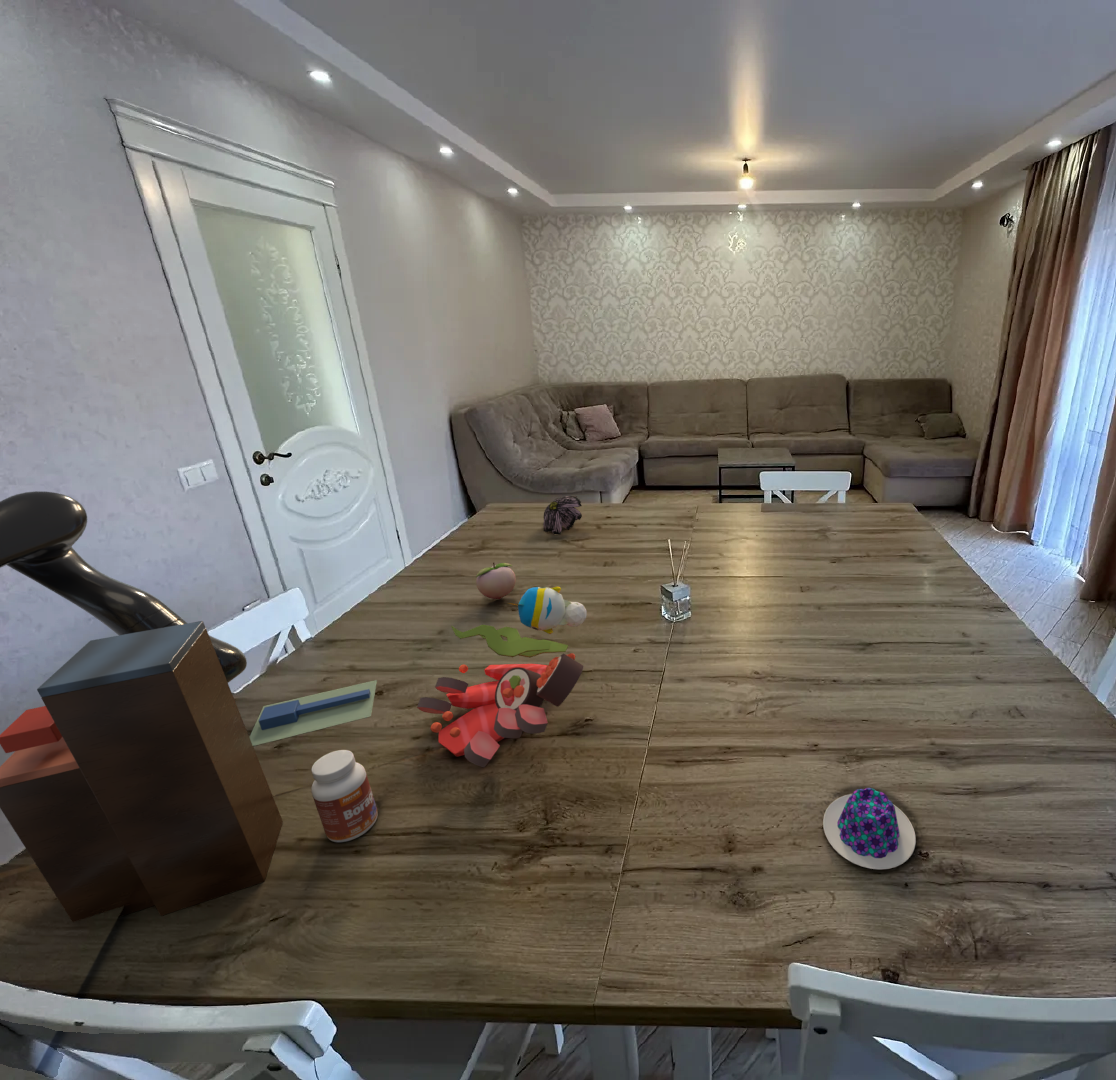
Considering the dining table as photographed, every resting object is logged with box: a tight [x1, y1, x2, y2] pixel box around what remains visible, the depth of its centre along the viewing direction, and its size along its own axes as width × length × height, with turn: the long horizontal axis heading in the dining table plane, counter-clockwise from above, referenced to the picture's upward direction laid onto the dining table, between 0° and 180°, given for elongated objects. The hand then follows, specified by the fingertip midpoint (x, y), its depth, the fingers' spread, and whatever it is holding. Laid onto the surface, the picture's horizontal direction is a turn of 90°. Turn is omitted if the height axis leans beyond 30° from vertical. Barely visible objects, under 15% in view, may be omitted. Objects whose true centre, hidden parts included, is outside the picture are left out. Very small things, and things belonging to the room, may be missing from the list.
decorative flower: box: [542, 495, 583, 535], centre depth 187 cm, size 14×12×15 cm
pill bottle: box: [310, 749, 379, 843], centre depth 76 cm, size 6×6×11 cm
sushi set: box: [416, 586, 588, 768], centre depth 97 cm, size 29×30×24 cm
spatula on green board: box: [249, 679, 378, 747], centre depth 100 cm, size 18×12×1 cm, turn 115°
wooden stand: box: [0, 620, 284, 923], centre depth 65 cm, size 18×10×32 cm, turn 115°
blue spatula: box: [259, 689, 371, 730], centre depth 100 cm, size 4×16×2 cm, turn 115°
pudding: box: [822, 787, 917, 870], centre depth 74 cm, size 12×12×5 cm
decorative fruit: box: [475, 562, 517, 600], centre depth 139 cm, size 9×8×10 cm
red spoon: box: [0, 705, 62, 754], centre depth 65 cm, size 4×16×2 cm, turn 25°
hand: (69, 681), depth 65 cm, fingers closed on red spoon, 1 cm apart
